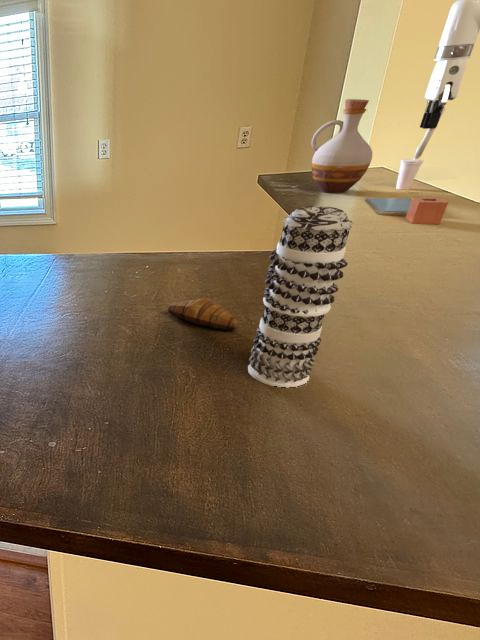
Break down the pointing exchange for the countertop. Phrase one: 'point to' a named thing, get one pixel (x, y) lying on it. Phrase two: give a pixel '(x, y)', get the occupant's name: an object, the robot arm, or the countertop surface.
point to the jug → (342, 152)
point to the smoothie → (407, 172)
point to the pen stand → (426, 210)
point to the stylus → (425, 140)
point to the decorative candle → (299, 294)
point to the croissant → (204, 313)
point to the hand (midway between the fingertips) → (427, 127)
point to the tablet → (390, 205)
